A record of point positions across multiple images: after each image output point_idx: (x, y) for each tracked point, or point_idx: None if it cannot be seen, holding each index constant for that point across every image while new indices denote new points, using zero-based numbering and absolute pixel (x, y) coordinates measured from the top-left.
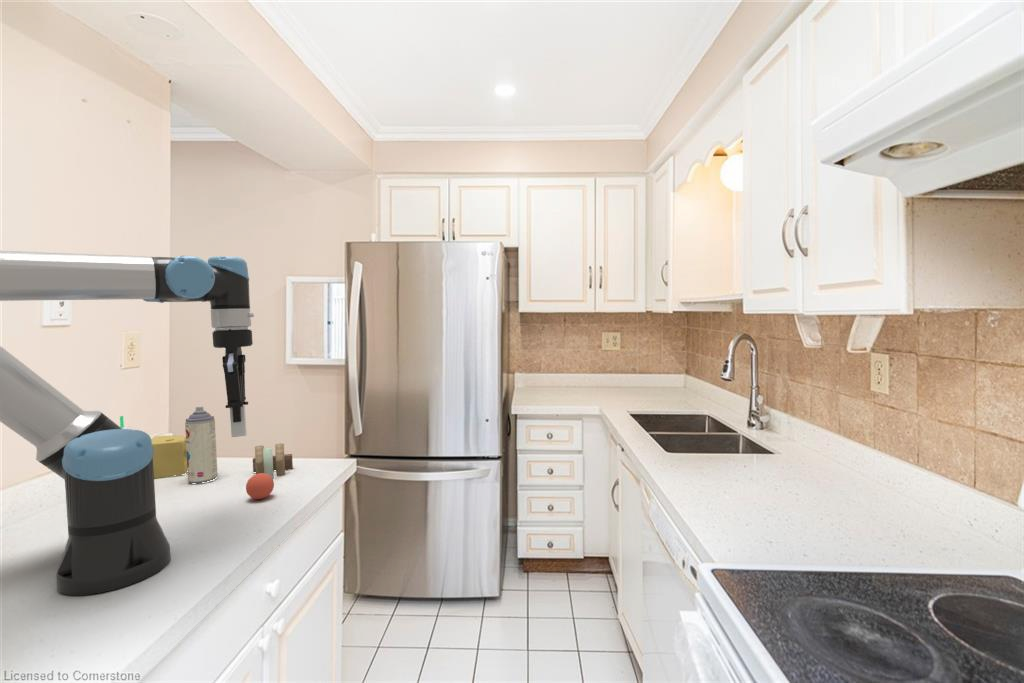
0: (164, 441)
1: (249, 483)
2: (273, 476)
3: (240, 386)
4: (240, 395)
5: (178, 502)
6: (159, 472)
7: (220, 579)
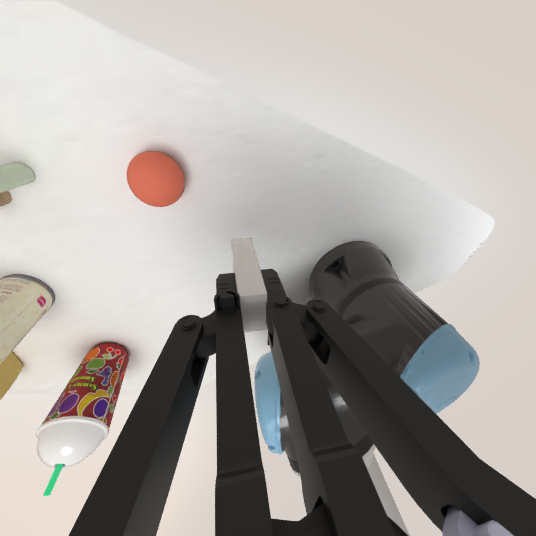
0: None
1: (173, 200)
2: (13, 163)
3: (319, 373)
4: (337, 329)
5: (151, 291)
6: (7, 359)
7: (427, 182)
